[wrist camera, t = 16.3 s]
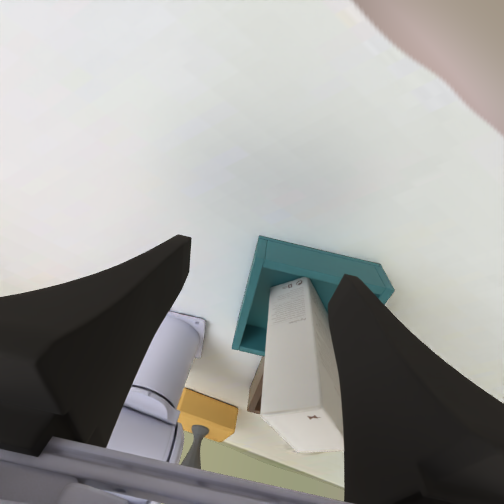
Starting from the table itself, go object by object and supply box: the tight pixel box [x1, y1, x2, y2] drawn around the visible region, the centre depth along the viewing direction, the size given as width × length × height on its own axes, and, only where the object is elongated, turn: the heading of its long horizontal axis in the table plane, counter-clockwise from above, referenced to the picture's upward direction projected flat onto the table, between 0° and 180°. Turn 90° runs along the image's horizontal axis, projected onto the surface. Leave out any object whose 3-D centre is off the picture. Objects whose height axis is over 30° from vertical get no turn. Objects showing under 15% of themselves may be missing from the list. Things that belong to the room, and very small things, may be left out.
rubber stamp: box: [177, 388, 238, 469], centre depth 37 cm, size 10×6×12 cm, turn 62°
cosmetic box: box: [260, 277, 344, 453], centre depth 20 cm, size 6×4×12 cm
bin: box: [232, 236, 395, 356], centre depth 24 cm, size 12×13×4 cm
